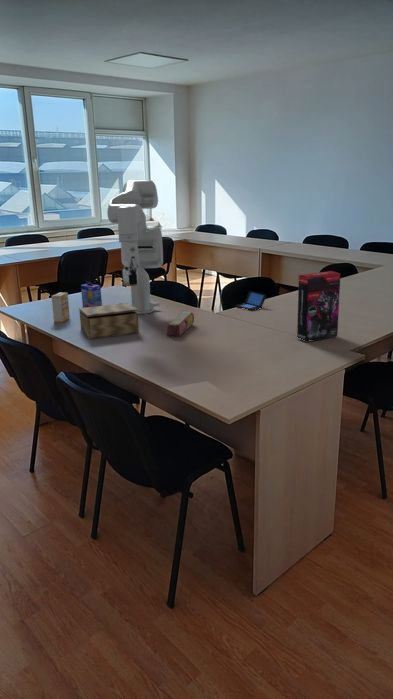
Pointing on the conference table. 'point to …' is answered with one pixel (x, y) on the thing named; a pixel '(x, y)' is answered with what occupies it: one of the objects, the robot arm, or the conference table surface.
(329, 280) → the graphics card box
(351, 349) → the conference table surface
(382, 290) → the conference table surface
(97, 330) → the tan wicker box
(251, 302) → the handheld game console
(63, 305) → the supplement box
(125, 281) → the steel weight
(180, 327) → the snack package
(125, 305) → the lid
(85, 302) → the ink cartridge box
